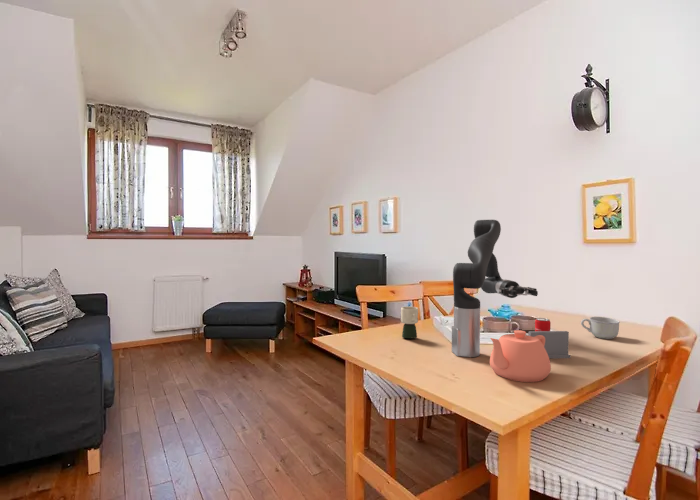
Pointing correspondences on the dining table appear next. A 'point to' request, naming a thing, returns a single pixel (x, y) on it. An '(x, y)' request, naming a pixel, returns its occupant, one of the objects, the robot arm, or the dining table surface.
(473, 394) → the dining table surface
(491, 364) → the teapot
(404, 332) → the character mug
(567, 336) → the screen
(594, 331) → the teacup
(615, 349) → the dining table surface
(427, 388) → the dining table surface
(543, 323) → the beverage can
